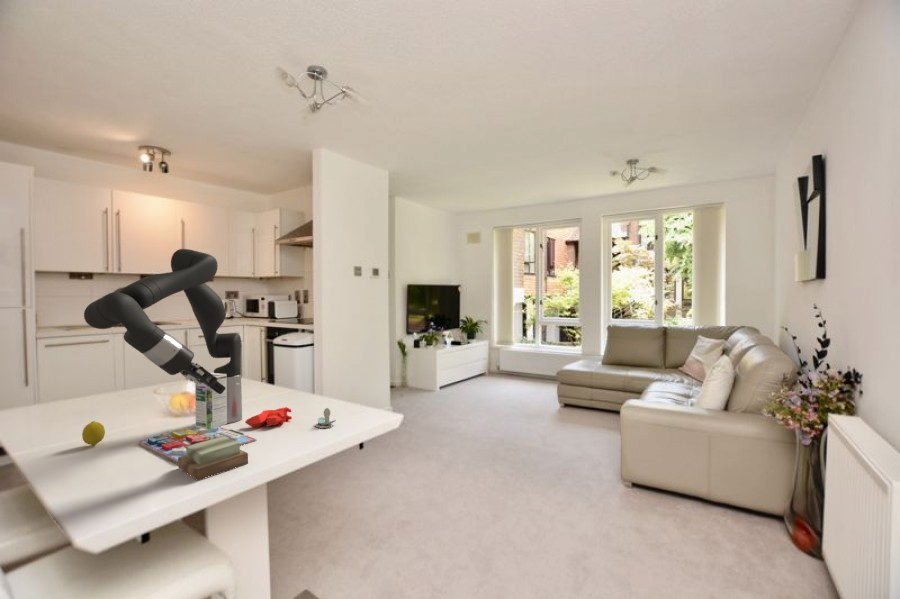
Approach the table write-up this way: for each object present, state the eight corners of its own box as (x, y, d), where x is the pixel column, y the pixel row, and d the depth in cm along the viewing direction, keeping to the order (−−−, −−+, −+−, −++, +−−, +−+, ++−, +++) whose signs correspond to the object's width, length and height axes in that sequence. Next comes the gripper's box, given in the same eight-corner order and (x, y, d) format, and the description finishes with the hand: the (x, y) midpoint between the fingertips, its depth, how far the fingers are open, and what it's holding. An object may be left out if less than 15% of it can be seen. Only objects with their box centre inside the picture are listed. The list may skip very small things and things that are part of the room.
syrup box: (194, 427, 114) (193, 375, 114) (214, 421, 119) (213, 371, 119) (209, 430, 112) (208, 377, 111) (228, 423, 117) (227, 372, 117)
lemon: (80, 450, 129) (79, 425, 129) (85, 444, 134) (85, 420, 134) (102, 447, 132) (101, 422, 132) (107, 441, 137) (106, 417, 137)
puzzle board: (257, 442, 135) (257, 434, 135) (179, 467, 117) (179, 458, 116) (212, 426, 153) (211, 419, 153) (138, 446, 134) (137, 437, 134)
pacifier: (326, 430, 145) (338, 424, 150) (325, 413, 145) (337, 408, 150) (311, 427, 149) (324, 422, 154) (310, 410, 148) (323, 405, 153)
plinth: (178, 468, 115) (177, 446, 115) (227, 453, 125) (226, 433, 125) (198, 480, 107) (197, 457, 107) (248, 463, 117) (247, 442, 117)
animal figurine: (241, 428, 149) (240, 414, 149) (280, 417, 161) (280, 404, 161) (256, 434, 142) (255, 419, 142) (296, 422, 154) (295, 409, 153)
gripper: (190, 343, 105) (238, 381, 114) (169, 340, 114) (215, 375, 123) (166, 367, 101) (218, 404, 110) (146, 362, 109) (196, 397, 119)
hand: (216, 389), depth 117 cm, fingers closed on syrup box, 7 cm apart
